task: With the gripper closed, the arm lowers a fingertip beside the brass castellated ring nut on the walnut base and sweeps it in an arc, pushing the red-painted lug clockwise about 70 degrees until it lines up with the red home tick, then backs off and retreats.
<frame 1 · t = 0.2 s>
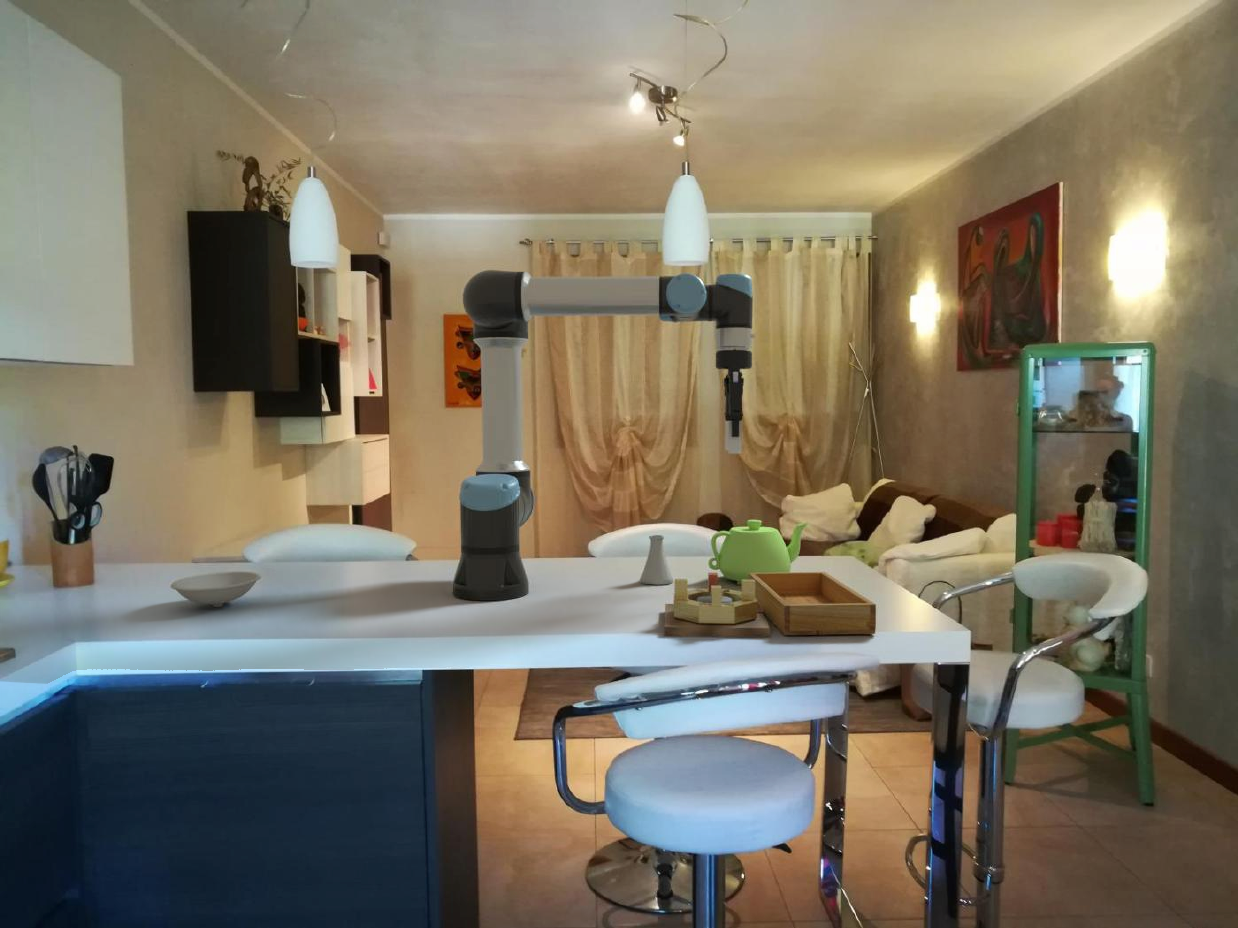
hand: (733, 452, 186), 28 cm above the kitchen counter, fingers open, 13 cm apart
tray: (806, 618, 160), on the kitchen counter
dish: (217, 607, 167), on the kitchen counter
walnut base: (714, 623, 153), on the kitchen counter
teapot: (759, 581, 191), on the kitchen counter
flask: (656, 583, 189), on the kitchen counter
ring nut: (714, 596, 152), point 5 cm above the kitchen counter, hinge at 0.0°
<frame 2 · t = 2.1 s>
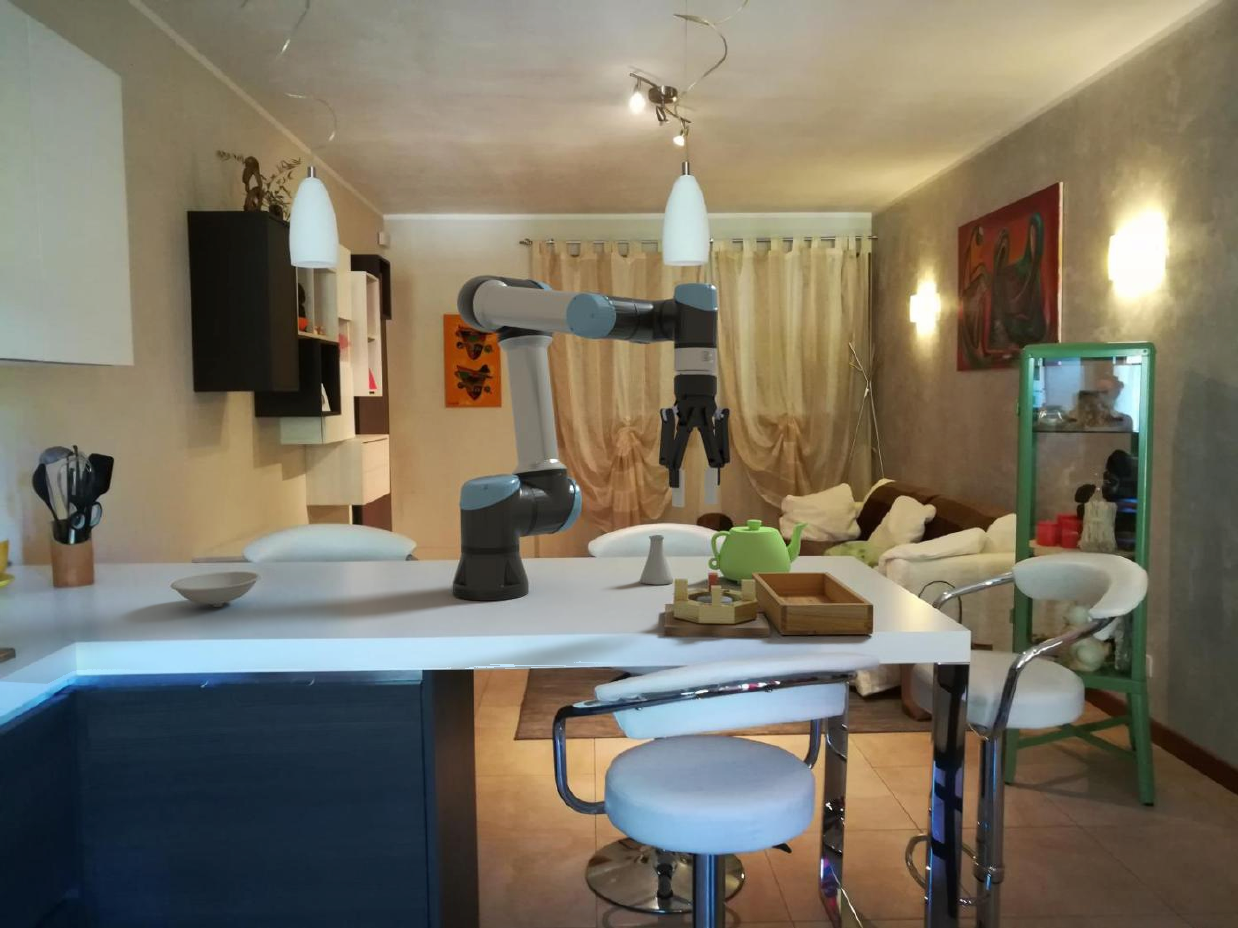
hand: (694, 505, 156), 20 cm above the kitchen counter, fingers open, 6 cm apart
nothing on the kitchen counter moved.
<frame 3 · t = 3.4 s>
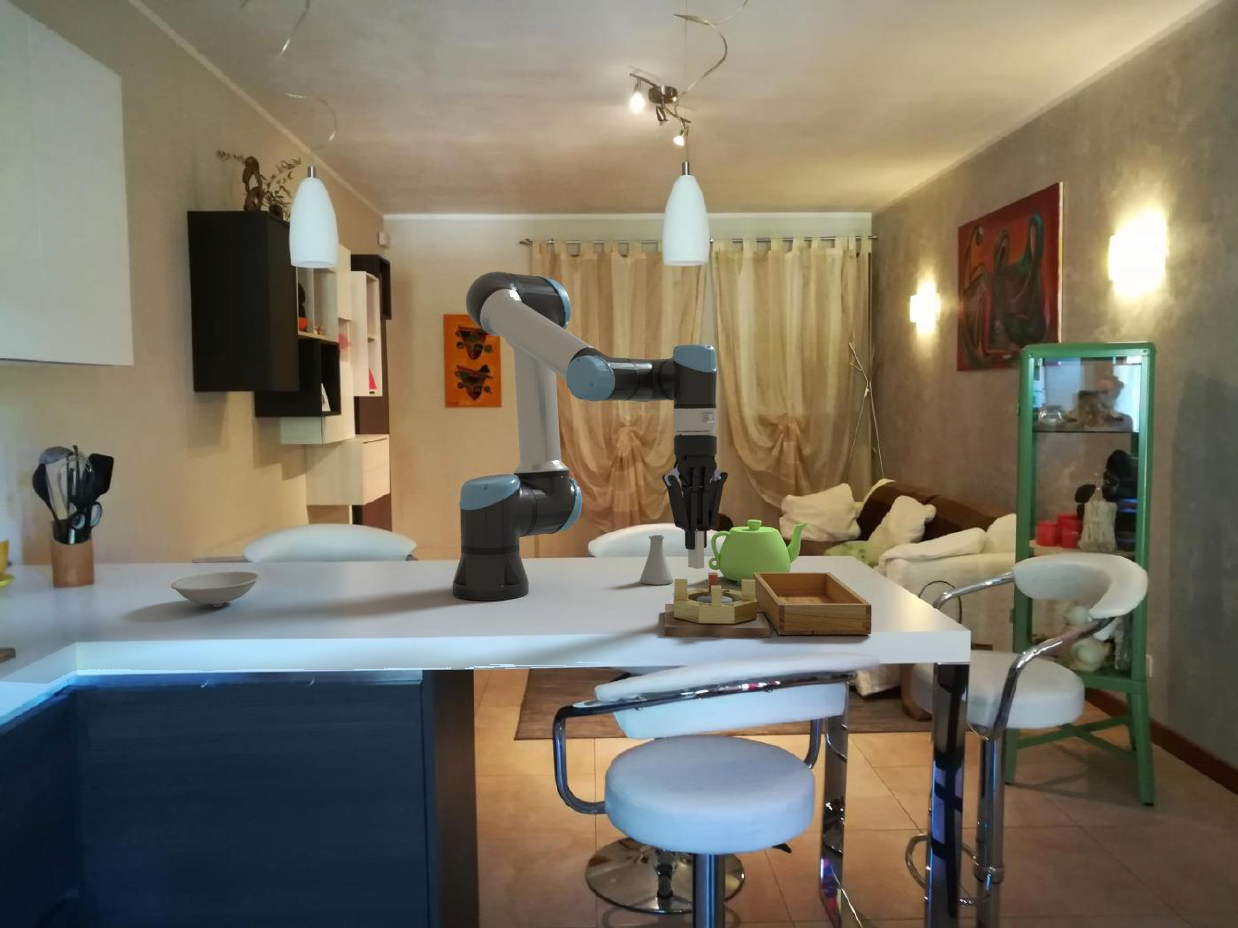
hand: (696, 567, 157), 9 cm above the kitchen counter, fingers closed
nothing on the kitchen counter moved.
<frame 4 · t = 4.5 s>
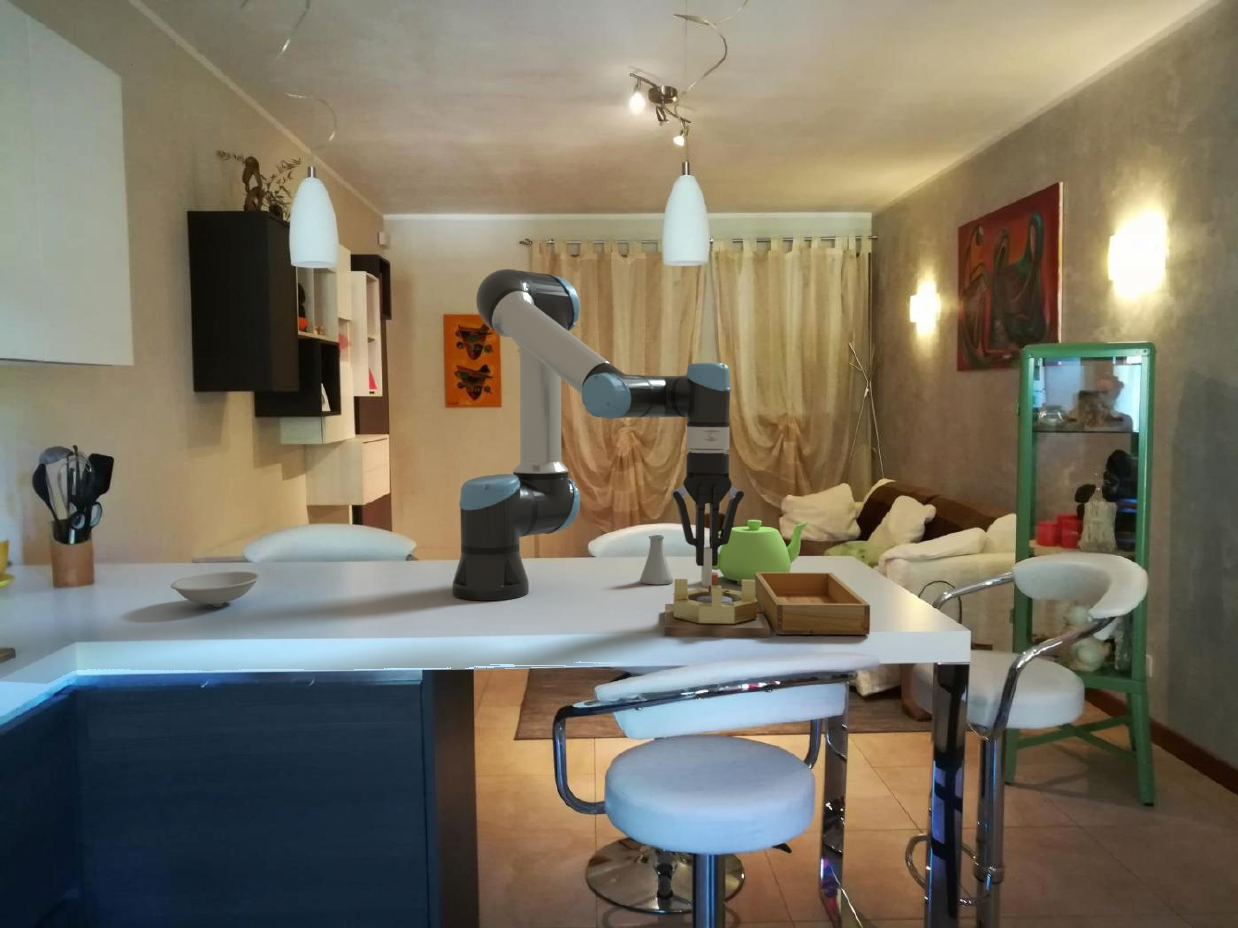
hand: (706, 583, 158), 6 cm above the kitchen counter, fingers closed
ring nut: (714, 596, 152), point 5 cm above the kitchen counter, hinge at 0.0°, touching gripper
everything else where it was.
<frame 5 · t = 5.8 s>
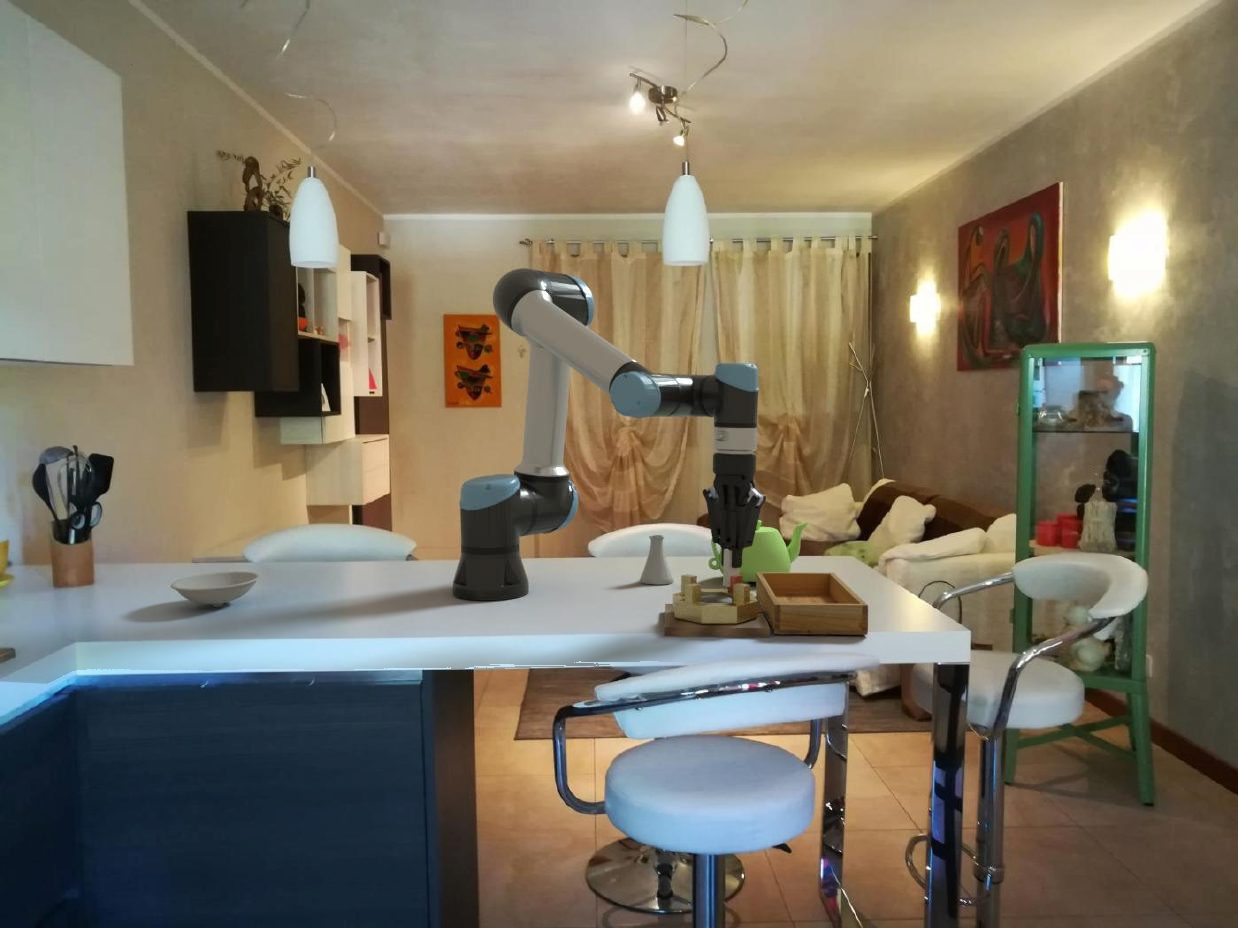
hand: (731, 585, 157), 6 cm above the kitchen counter, fingers closed
ring nut: (714, 596, 152), point 5 cm above the kitchen counter, hinge at 41.5°, touching gripper
everything else where it was.
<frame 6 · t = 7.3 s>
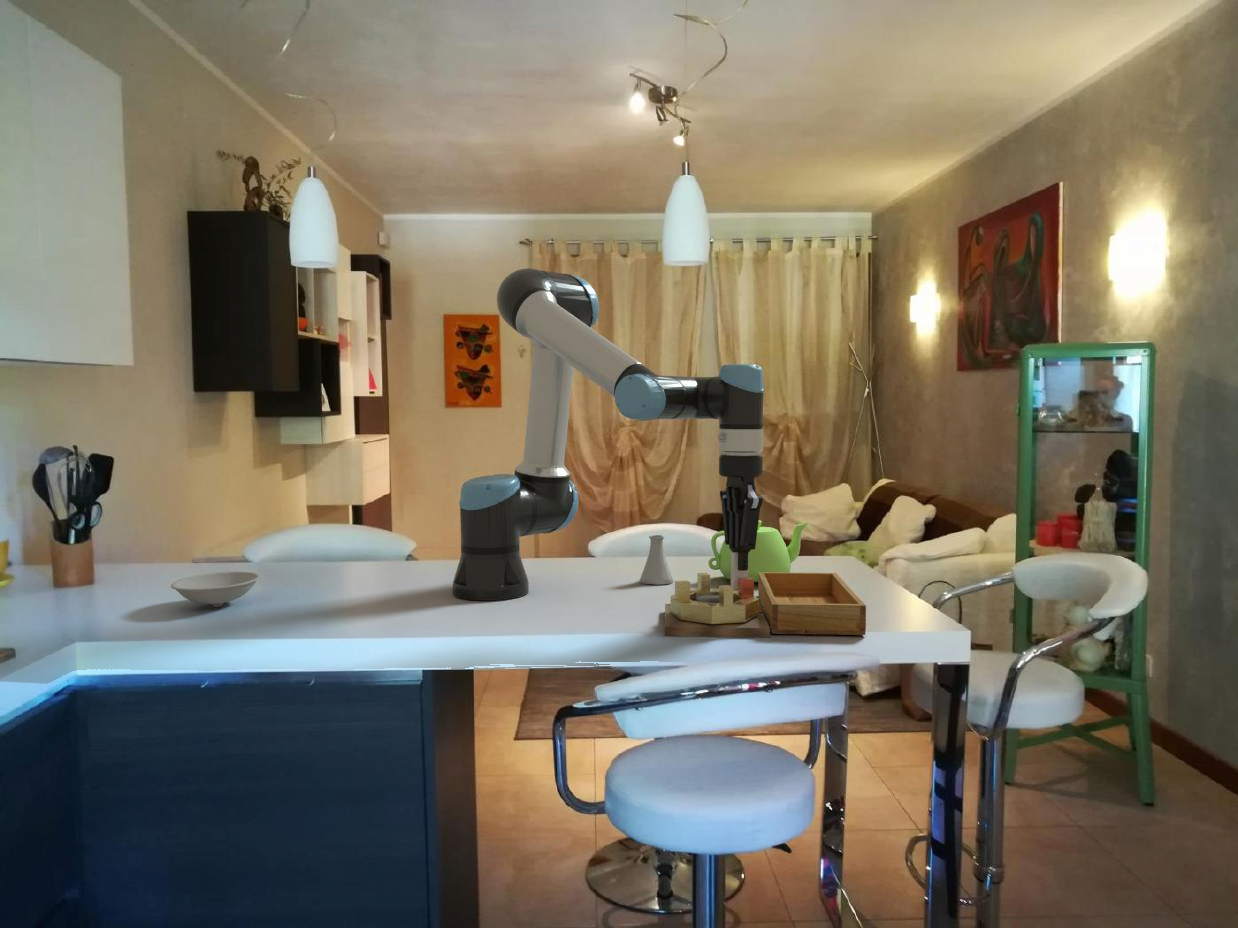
hand: (739, 587, 156), 6 cm above the kitchen counter, fingers closed
ring nut: (714, 596, 152), point 5 cm above the kitchen counter, hinge at 73.4°
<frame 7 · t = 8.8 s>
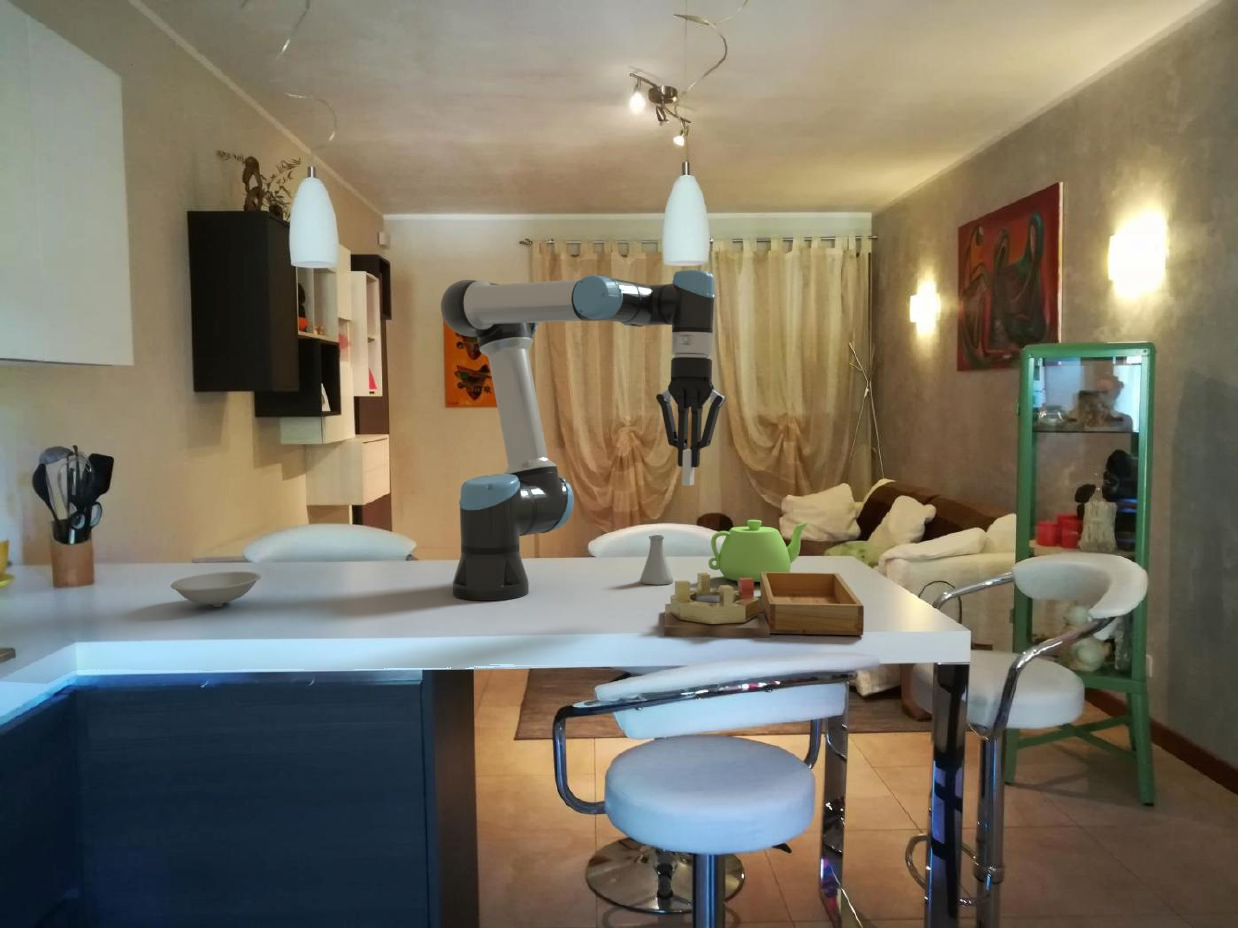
hand: (688, 484, 165), 23 cm above the kitchen counter, fingers closed
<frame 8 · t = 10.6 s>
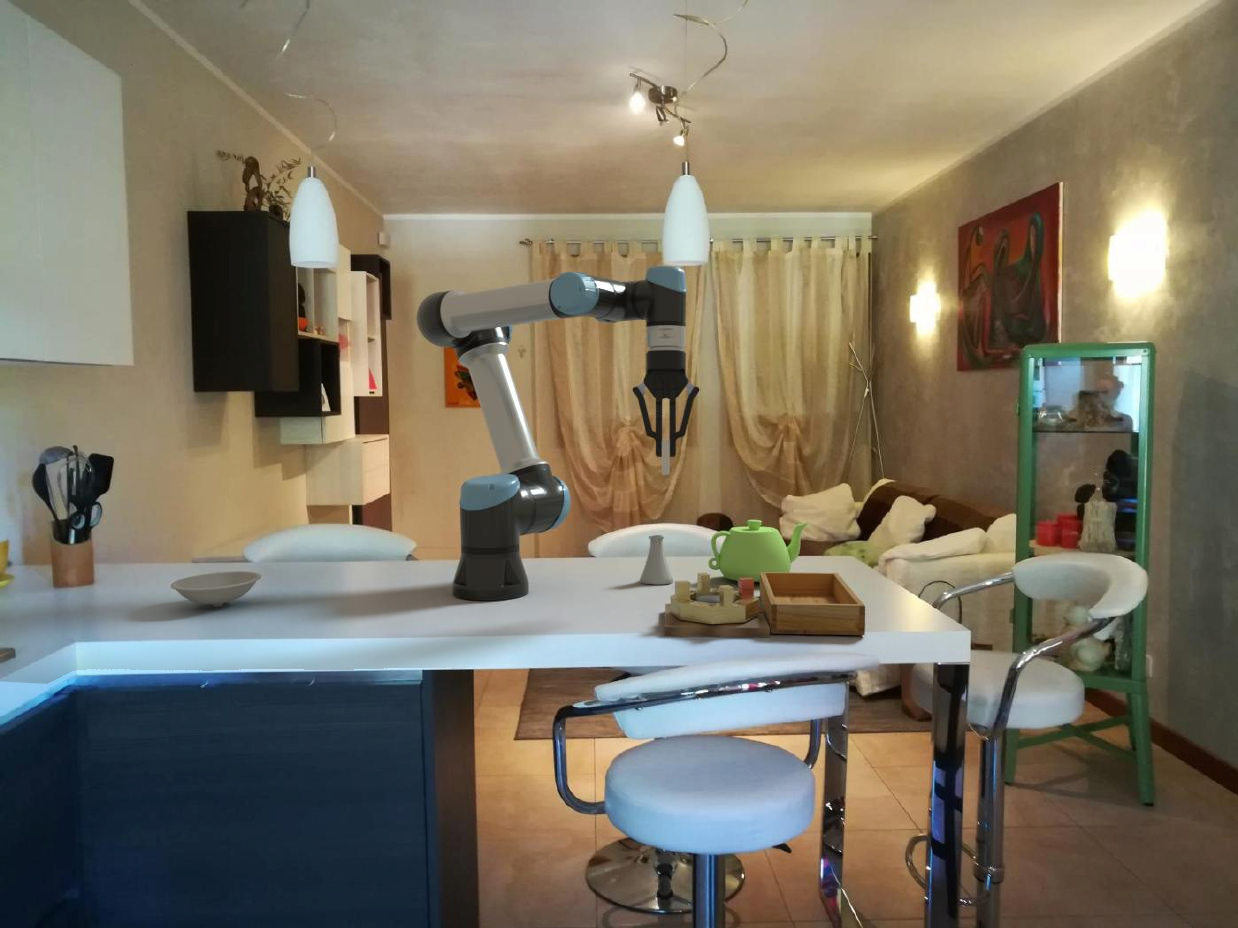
hand: (665, 474, 170), 24 cm above the kitchen counter, fingers closed
nothing on the kitchen counter moved.
at the end: ring nut at +73° (first picture: +0°) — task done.
